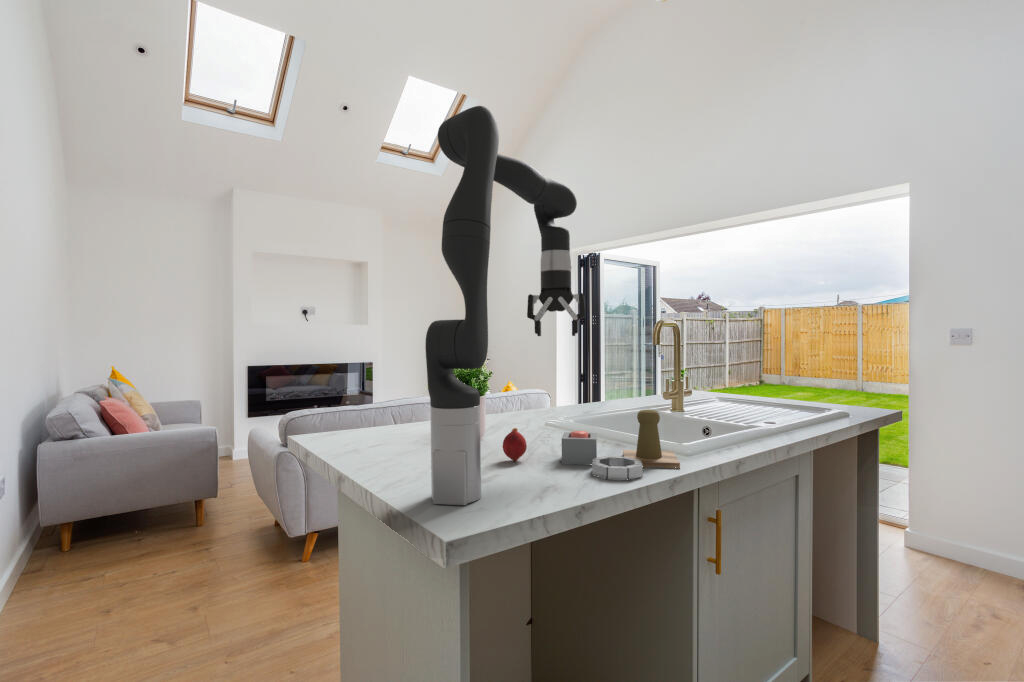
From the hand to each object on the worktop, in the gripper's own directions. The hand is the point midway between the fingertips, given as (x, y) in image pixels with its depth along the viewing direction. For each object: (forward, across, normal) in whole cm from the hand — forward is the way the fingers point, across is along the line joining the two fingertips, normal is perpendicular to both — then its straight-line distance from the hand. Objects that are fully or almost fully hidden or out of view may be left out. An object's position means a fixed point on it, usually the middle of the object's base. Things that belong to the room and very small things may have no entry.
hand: (556, 336), depth 125 cm
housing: (+30, +6, -2) cm, 31 cm away
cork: (+29, +22, -1) cm, 36 cm away
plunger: (+29, +5, -2) cm, 30 cm away
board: (+30, +22, -1) cm, 37 cm away
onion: (+30, -10, -5) cm, 32 cm away
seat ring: (+30, +14, -13) cm, 36 cm away
